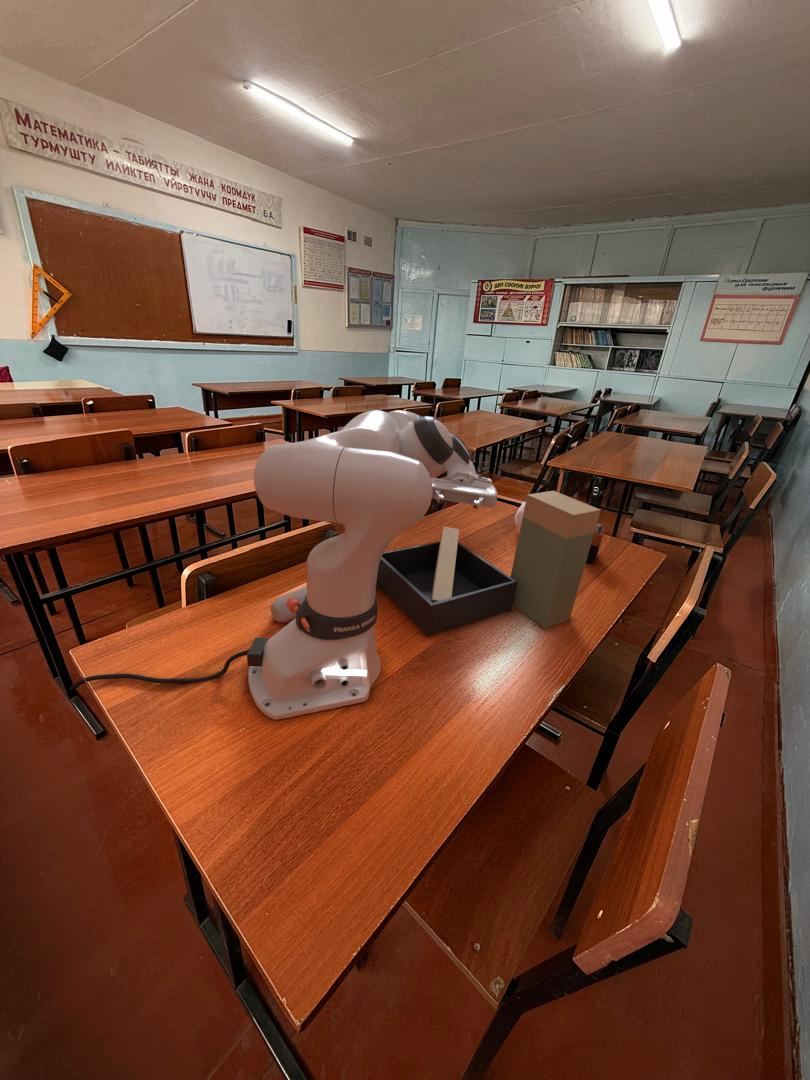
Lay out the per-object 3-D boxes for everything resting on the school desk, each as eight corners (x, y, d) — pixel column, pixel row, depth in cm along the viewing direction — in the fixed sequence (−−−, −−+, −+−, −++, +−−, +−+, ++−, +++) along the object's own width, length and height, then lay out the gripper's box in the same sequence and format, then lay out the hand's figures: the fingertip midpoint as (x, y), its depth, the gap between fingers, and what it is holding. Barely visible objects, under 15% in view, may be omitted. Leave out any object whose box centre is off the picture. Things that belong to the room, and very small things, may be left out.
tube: (281, 614, 83) (378, 573, 100) (266, 596, 85) (363, 558, 102) (277, 632, 86) (372, 589, 103) (264, 613, 89) (358, 574, 105)
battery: (597, 556, 127) (606, 524, 123) (593, 564, 122) (602, 532, 117) (581, 551, 129) (590, 520, 125) (577, 560, 123) (586, 528, 119)
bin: (427, 637, 87) (431, 605, 83) (373, 581, 105) (375, 553, 101) (511, 610, 98) (517, 581, 94) (449, 564, 116) (453, 538, 112)
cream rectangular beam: (428, 611, 93) (431, 599, 91) (440, 537, 111) (443, 525, 108) (447, 615, 93) (450, 603, 91) (456, 540, 111) (459, 529, 108)
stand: (544, 628, 92) (573, 514, 81) (505, 600, 101) (527, 494, 90) (569, 619, 96) (600, 509, 85) (530, 592, 105) (553, 490, 94)
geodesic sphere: (557, 541, 120) (570, 493, 122) (506, 529, 125) (520, 483, 127) (556, 554, 133) (568, 511, 136) (510, 542, 139) (522, 501, 141)
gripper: (426, 469, 124) (420, 485, 112) (497, 480, 123) (499, 498, 110) (423, 489, 127) (417, 508, 115) (493, 500, 126) (494, 520, 113)
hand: (458, 503), depth 113 cm, fingers open, 8 cm apart
